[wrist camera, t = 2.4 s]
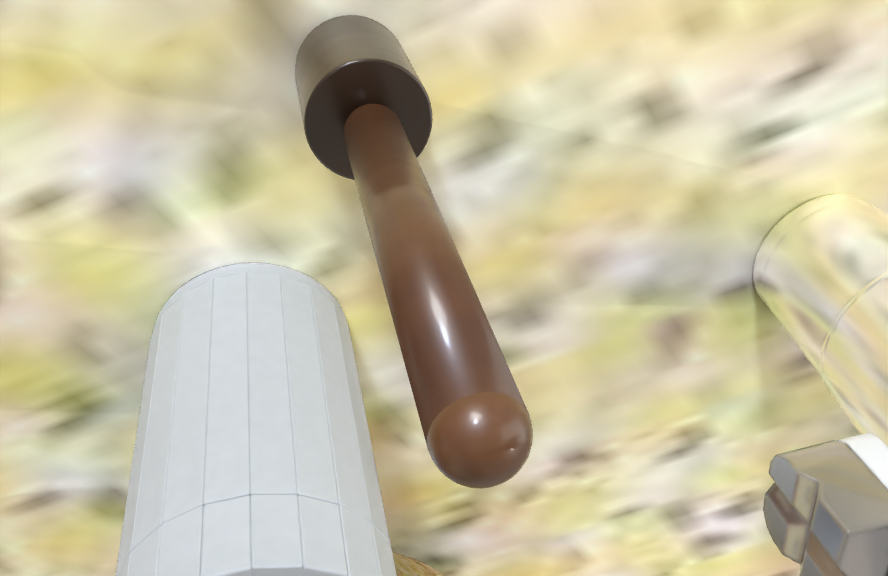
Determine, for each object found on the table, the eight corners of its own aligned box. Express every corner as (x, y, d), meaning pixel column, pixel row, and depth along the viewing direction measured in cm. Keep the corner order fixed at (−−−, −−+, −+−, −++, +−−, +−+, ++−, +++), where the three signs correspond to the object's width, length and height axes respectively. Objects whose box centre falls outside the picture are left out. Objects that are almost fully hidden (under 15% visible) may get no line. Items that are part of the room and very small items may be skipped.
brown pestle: (284, 24, 28) (349, 405, 12) (398, 6, 29) (613, 349, 12) (306, 132, 30) (386, 579, 14) (412, 114, 31) (609, 525, 14)
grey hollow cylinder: (124, 284, 32) (55, 613, 20) (332, 244, 33) (387, 535, 21) (182, 435, 37) (154, 777, 25) (362, 396, 38) (423, 708, 25)
